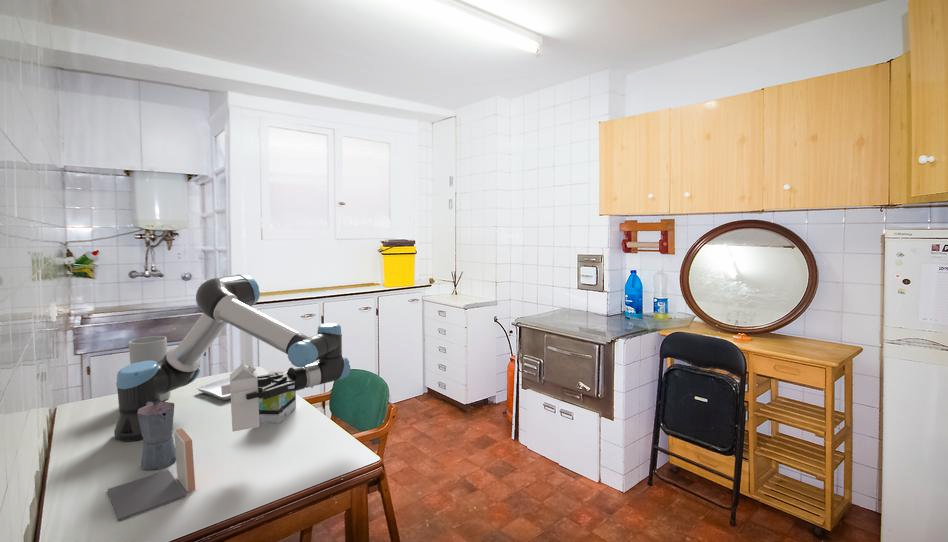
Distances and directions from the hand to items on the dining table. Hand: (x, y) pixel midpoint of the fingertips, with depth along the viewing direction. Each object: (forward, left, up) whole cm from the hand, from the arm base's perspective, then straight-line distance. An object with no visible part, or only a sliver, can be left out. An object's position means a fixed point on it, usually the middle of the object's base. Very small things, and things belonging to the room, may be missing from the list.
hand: (227, 394), depth 134 cm
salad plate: (-68, +23, -23) cm, 75 cm away
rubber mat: (-2, -20, -22) cm, 30 cm away
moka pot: (-19, -14, -22) cm, 33 cm away
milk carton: (0, +5, -11) cm, 12 cm away
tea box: (-29, +25, -22) cm, 44 cm away
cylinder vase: (-81, -4, -22) cm, 84 cm away
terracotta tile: (0, -11, -22) cm, 25 cm away
